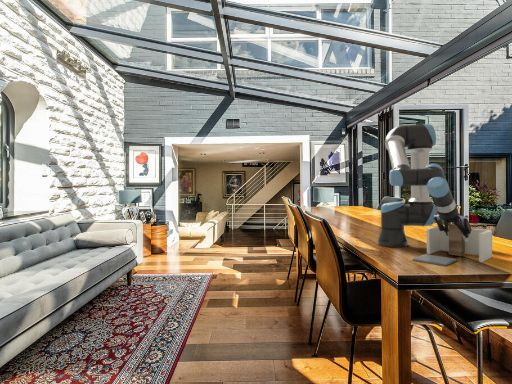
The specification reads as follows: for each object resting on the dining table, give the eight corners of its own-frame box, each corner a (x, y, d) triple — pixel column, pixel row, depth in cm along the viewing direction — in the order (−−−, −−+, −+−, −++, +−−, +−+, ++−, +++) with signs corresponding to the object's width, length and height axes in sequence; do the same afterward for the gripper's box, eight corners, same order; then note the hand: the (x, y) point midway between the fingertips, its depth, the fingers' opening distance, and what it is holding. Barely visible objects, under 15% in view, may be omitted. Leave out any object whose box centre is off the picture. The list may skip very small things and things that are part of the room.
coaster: (412, 260, 141) (412, 258, 140) (424, 255, 149) (424, 254, 149) (444, 266, 131) (444, 264, 131) (456, 260, 139) (456, 258, 139)
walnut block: (460, 256, 144) (461, 225, 143) (448, 254, 148) (449, 224, 147) (464, 254, 147) (465, 224, 147) (452, 252, 151) (453, 223, 150)
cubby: (482, 262, 136) (482, 234, 135) (426, 253, 153) (426, 228, 152) (492, 256, 145) (492, 230, 144) (438, 249, 162) (438, 225, 161)
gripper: (421, 212, 143) (436, 243, 155) (468, 215, 130) (480, 249, 141) (426, 200, 147) (440, 231, 158) (472, 201, 133) (484, 236, 144)
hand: (459, 239), depth 149 cm, fingers closed on walnut block, 5 cm apart
